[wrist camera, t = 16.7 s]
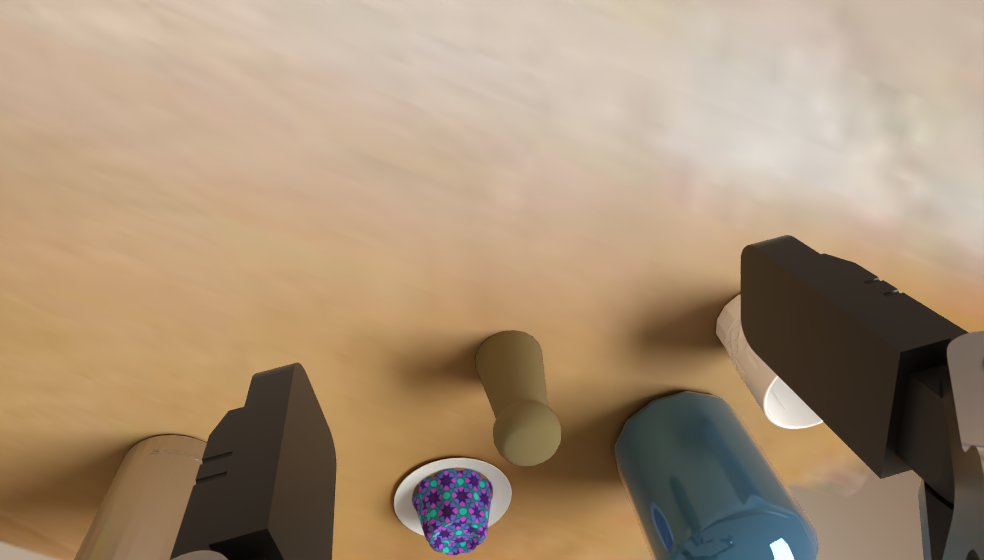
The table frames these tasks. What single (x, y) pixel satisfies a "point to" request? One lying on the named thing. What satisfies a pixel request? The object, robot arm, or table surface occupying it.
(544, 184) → the table surface
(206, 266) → the table surface
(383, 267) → the table surface
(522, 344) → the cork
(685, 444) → the blue cylinder
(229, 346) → the table surface
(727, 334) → the white cup
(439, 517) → the pudding
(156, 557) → the robot arm
